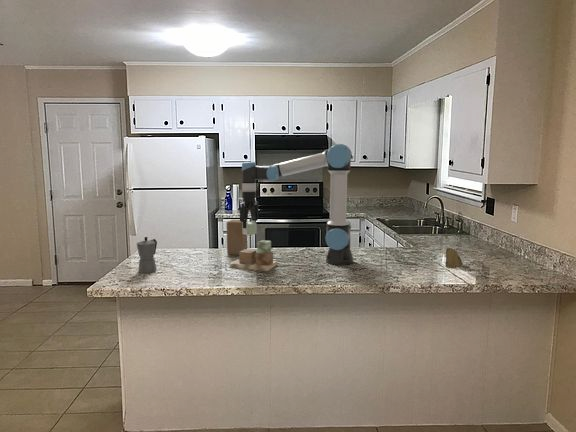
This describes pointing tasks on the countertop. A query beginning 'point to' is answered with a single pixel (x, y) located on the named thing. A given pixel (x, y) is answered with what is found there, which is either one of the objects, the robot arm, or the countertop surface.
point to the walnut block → (247, 256)
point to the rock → (452, 258)
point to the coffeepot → (147, 255)
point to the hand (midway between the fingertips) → (249, 233)
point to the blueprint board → (252, 265)
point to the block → (235, 237)
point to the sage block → (251, 228)
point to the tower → (264, 253)
